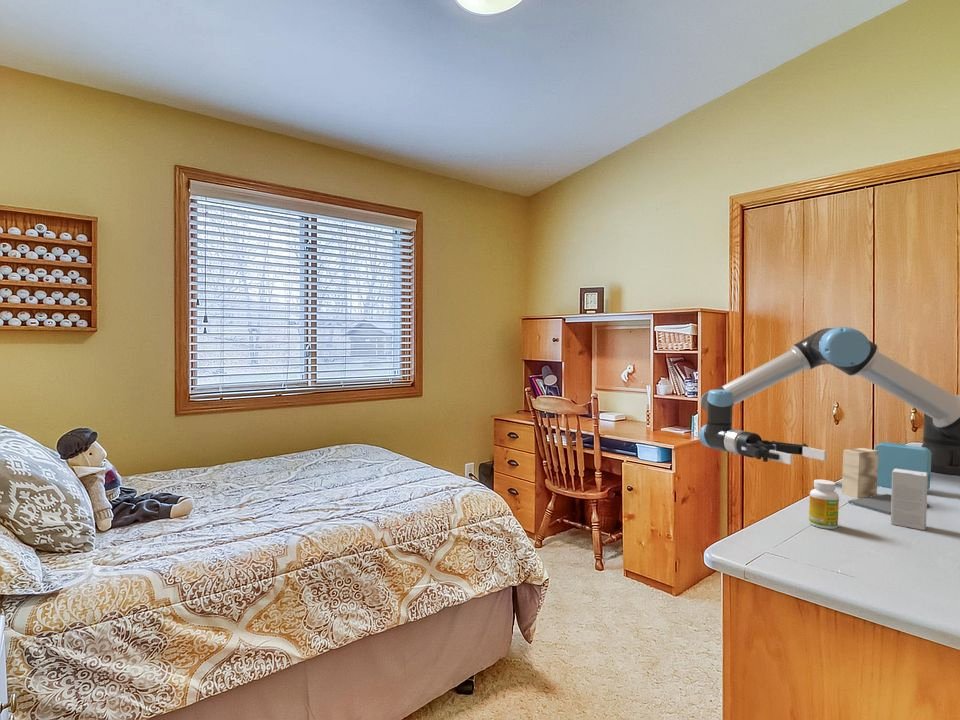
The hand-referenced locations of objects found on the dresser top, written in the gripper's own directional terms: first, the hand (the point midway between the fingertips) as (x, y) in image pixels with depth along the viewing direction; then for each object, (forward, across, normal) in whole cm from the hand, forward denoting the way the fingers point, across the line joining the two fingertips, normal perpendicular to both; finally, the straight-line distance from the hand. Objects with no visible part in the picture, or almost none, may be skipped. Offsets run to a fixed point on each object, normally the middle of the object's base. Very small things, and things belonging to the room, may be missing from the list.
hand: (808, 457), depth 148 cm
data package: (+9, -25, -9) cm, 28 cm away
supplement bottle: (+21, +25, -9) cm, 34 cm away
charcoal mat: (+17, -5, -9) cm, 20 cm away
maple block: (+9, -7, -9) cm, 15 cm away
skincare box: (+28, +6, -9) cm, 30 cm away
